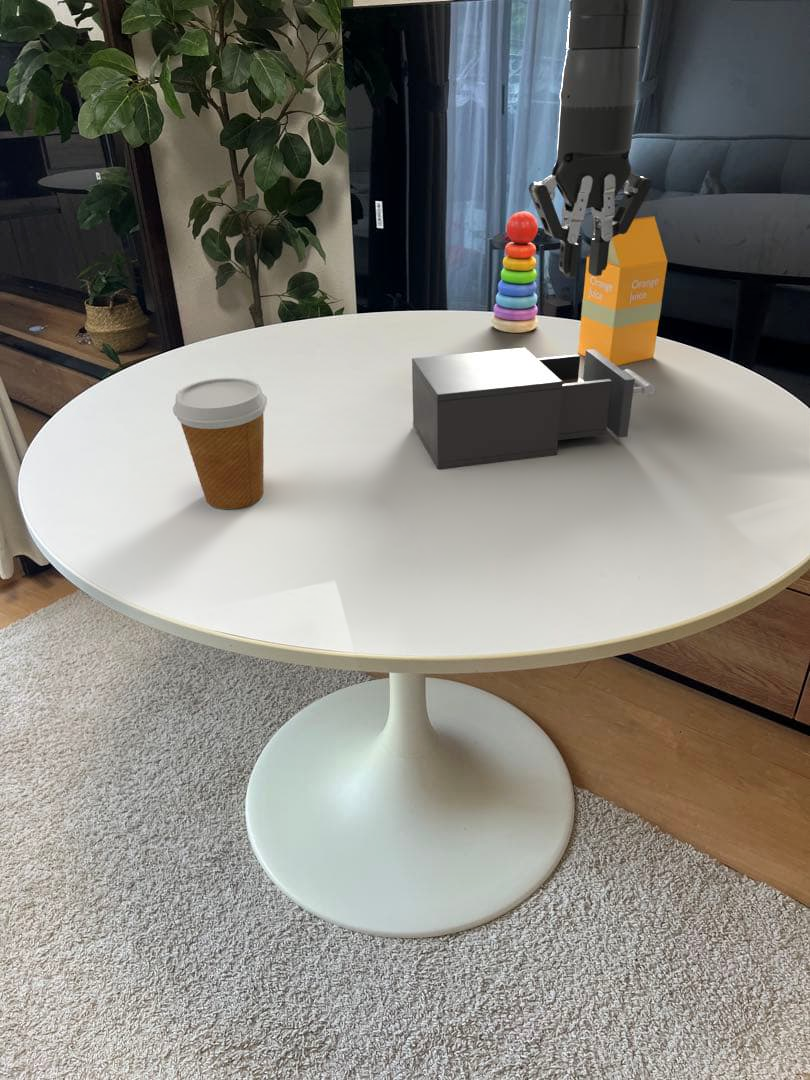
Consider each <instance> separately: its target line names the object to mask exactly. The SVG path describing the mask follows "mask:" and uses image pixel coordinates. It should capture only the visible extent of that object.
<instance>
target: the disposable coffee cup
mask: <svg viewBox="0 0 810 1080" xmlns="http://www.w3.org/2000/svg"><path fill="white" fill-rule="evenodd" d="M267 404H268V398H267V396H266V395H265V394H264V393H263V390H262V388H261V386H260V384H258V383H257V382H255V381H254V380H250V379H246V378H241V377H217V378H210V379H205V380H204V379H203V380H200V381H196V382H193V383H190V384H188V385H186V386H184V387H182V388H181V389H179V390H178V391H177V393H176V394H175V403H174V405H173V407H172V413H173V415H174V416H175V417H176V418H177V420H178V422H179V423H180V425H181V429H182V431H183V434H184V437H185V441H186V444H187V446H188V450H189V453H190V456H191V459H192V462H193V465H194V468H195V471H196V475H197V478H198V481H199V483H200V486H201V489H202V492H203V495H204V499H205V502H206V503H207V504H208V505H209V506H211V507H213V508H216V509H221V510H234V509H236V510H237V509H242V508H246V507H248V506H251V505H253V504H255V503H257V502H259V501H260V500H261V499H262V498H263V496H264V494H265V493H264V471H265V470H264V463H265V462H264V461H265V459H264V457H265V456H264V455H265V454H264V453H265V452H264V436H265V433H264V430H265V428H264V423H265V422H264V421H265V420H264V412H265V410H266V407H267Z"/></svg>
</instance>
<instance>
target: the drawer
mask: <svg viewBox="0 0 810 1080" xmlns="http://www.w3.org/2000/svg"><path fill="white" fill-rule="evenodd" d="M536 358H537V359H538V360H539V361H540V362H541V363H542V364H544V365H545V366H546V367H547V368H548V369H549V370H550V371H551V372H552V373H554V374H555V375H556V376H557V377H558V378H559V379H560V380H567V379H577V378H579V374H580V364H581V355H580V354H578V353H576V354H567V355H558V356H548V357H536ZM582 380H584V381H585V382H576V383H567V384H562V397H561V409H560V420H559V432H558V441H564V440H572V439H581V438H589V437H597V436H606V434H607V429H608V430H609V431H610V432H611V433H612V434H614V436H615V437H616V438H618V439H623V438H628V435H629V434H628V433H629V428H630V427H629V426H630V419H631V411H632V404H633V397H634V394H643V395H644V396H646V397H648V396H649V397H650V396H651V395H652V394H654V391H655V387H654V385H652V384H651V383H650V382H649V381H647V380H646V379H644V378H643V377H641V376H640V375H639V374H637V373H636V372H634V371H633V370H632V369H630V368H626V369H624V370H623V369H622V368H621V367H619V365H617V366H616V365H615V364H614V363H612V362H611V361H609V360H608V359H607V358H605V357H604V356H603V355H601V354H600V353H599V352H597V351H596V350H595V349H592V350H586V354H585V356H584V366H583V377H582Z"/></svg>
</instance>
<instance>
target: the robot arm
mask: <svg viewBox="0 0 810 1080" xmlns="http://www.w3.org/2000/svg"><path fill="white" fill-rule="evenodd" d="M569 1H570V3H569V4H570V6H569V14H568V17H569V18H568V25H567V26H568V29H567V41H566V49H567V50H566V55H565V60H564V66H563V72H562V77H561V78H562V79H561V89H560V92H559V101H560V105H559V121H558V133H557V134H558V135H557V148H556V149H557V152H556V153H557V159H556V161H555V164H554V166H553V168H552V170H551V175H549V176H548V177H546V178H544V179H543V180H541V181H539V182H537V181H533V182H530V184H529V186H528V191H529V195H530V197H531V200H532V202H533V204H534V207H535V210H536V212H537V215H538V217H539V220H540V223H541V225H542V228H543V230H544V233H545V234H546V235H547V236H550V237H552V238H554V239H557V240H559V243H560V245H559V258H558V269H559V271H560V272H562V275H563V276H564V277H565V278H567V279H574V278H576V276H577V269H578V268H577V267H578V258H579V246H580V244H579V243H577V241H578V240H579V236H580V230H581V225H582V222H584V220H585V216H586V211H587V210H588V209H590V213H591V216H592V224H593V225H592V227H593V228H592V229H593V236H594V238H591V239H590V247H589V248H590V249H589V254H590V258H589V268H588V270H589V273H590V274H591V275H593V276H601V275H602V270H605V269H606V267H607V261H608V252H609V243H610V240H611V239H612V238H613V237H614V236H616V235H618V234H625V233H626V232H627V231H628V229H629V227H630V225H631V224H632V222H633V220H634V219H636V216H637V215H638V212H639V210H640V208H641V207H642V205H643V203H644V201H645V199H646V197H647V195H648V193H649V192H650V190H651V188H652V184H653V183H652V181H651V179H649V178H647V177H644V176H640V175H638V174H636V173H634V172H633V171H632V165H631V163H630V162H631V161H630V158H629V157H630V156H629V155H630V151H631V148H632V141H633V132H634V123H635V115H636V104H637V97H638V87H639V81H640V79H639V77H640V46H641V39H642V38H641V36H642V29H643V28H642V27H643V20H644V11H645V10H644V9H645V0H569ZM555 188H557V189H558V191H559V193H560V196H562V199H563V203H562V208H561V221H560V218H559V216H558V213H557V211H556V210H557V209H556V208H555V205H554V203H553V200H554V199H555V197H556V192H555V190H556V189H555ZM622 188H623V193H624V194H623V196H622V198H621V199H620V202H619V204H618V205H617V208H616V209H615V207H616V206H615V204H616V201H615V198H616V197H617V195H618V194H619V192H620V191H621V190H622Z"/></svg>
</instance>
